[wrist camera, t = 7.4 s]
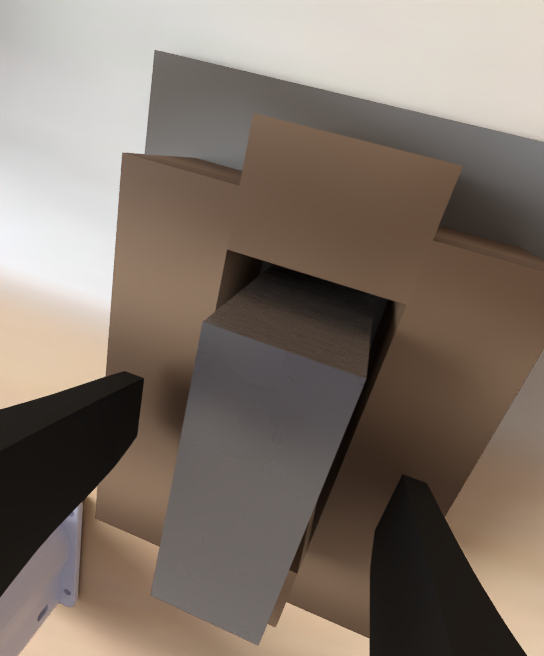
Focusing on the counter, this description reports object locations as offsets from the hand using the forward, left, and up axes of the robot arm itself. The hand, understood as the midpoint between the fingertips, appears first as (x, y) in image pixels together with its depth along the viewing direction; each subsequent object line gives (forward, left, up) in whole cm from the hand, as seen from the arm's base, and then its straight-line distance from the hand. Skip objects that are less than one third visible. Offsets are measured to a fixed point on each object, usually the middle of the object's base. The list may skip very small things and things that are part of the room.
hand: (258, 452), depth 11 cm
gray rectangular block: (0, 0, -5) cm, 5 cm away
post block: (0, 0, -6) cm, 6 cm away
